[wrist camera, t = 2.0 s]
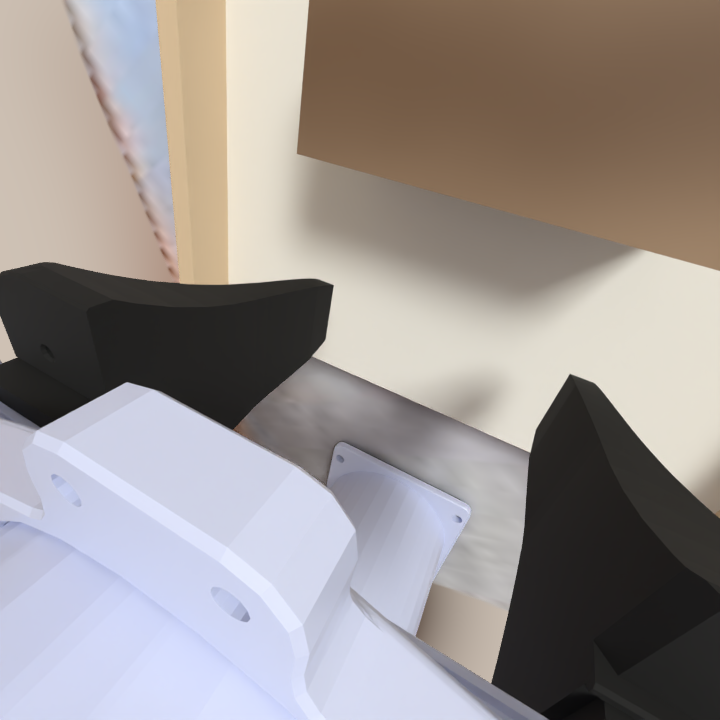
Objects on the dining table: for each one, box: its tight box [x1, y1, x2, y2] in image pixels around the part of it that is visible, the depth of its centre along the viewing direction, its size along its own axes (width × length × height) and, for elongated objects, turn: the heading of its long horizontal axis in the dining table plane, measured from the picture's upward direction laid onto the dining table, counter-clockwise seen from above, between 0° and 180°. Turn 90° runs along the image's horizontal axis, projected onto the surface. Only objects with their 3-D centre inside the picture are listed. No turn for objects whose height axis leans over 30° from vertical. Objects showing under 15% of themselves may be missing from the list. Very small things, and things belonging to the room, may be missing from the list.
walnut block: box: [297, 0, 720, 271], centre depth 8 cm, size 4×9×4 cm, turn 78°
